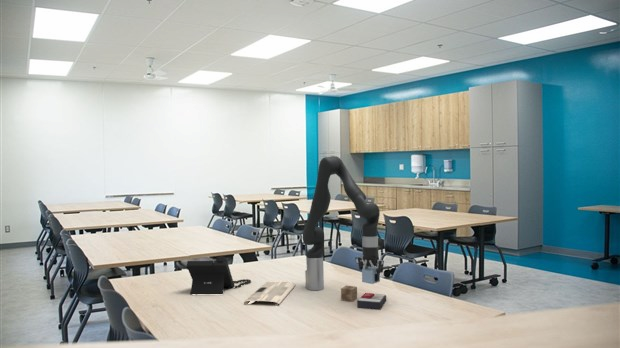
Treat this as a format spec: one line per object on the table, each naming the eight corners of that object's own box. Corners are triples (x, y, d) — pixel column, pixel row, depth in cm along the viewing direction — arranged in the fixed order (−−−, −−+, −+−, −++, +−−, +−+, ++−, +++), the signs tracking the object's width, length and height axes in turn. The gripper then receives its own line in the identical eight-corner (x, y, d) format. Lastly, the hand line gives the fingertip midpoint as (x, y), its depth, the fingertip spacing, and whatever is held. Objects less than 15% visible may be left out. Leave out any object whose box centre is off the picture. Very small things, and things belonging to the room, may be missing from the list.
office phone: (252, 281, 265) (251, 247, 264) (241, 295, 237) (240, 257, 236) (204, 281, 267) (203, 247, 267) (186, 295, 239) (185, 257, 239)
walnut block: (341, 300, 223) (340, 288, 223) (346, 297, 228) (346, 285, 228) (352, 302, 220) (352, 289, 220) (357, 298, 225) (356, 286, 225)
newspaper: (265, 285, 256) (265, 280, 256) (299, 286, 252) (298, 281, 252) (244, 305, 220) (243, 300, 220) (282, 307, 216) (282, 301, 216)
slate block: (362, 282, 215) (361, 269, 215) (369, 279, 220) (369, 267, 219) (372, 284, 211) (372, 271, 211) (379, 281, 215) (379, 269, 215)
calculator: (386, 293, 221) (380, 301, 207) (386, 302, 221) (380, 310, 207) (364, 292, 225) (356, 299, 211) (364, 300, 224) (357, 308, 210)
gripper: (353, 244, 217) (354, 279, 218) (377, 248, 207) (378, 284, 208) (363, 242, 223) (363, 276, 223) (387, 245, 213) (388, 281, 213)
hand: (371, 280), depth 215 cm, fingers closed on slate block, 6 cm apart
